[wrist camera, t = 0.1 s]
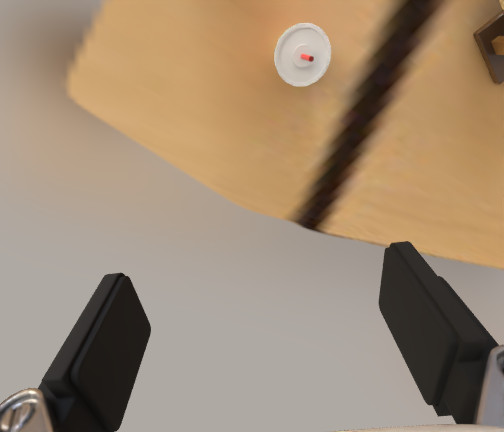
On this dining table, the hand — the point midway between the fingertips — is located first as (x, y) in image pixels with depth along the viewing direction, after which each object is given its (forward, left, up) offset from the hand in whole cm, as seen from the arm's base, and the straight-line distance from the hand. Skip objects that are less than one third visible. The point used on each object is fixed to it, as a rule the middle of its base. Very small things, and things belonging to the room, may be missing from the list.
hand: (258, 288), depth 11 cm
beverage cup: (-1, +8, -38) cm, 38 cm away
